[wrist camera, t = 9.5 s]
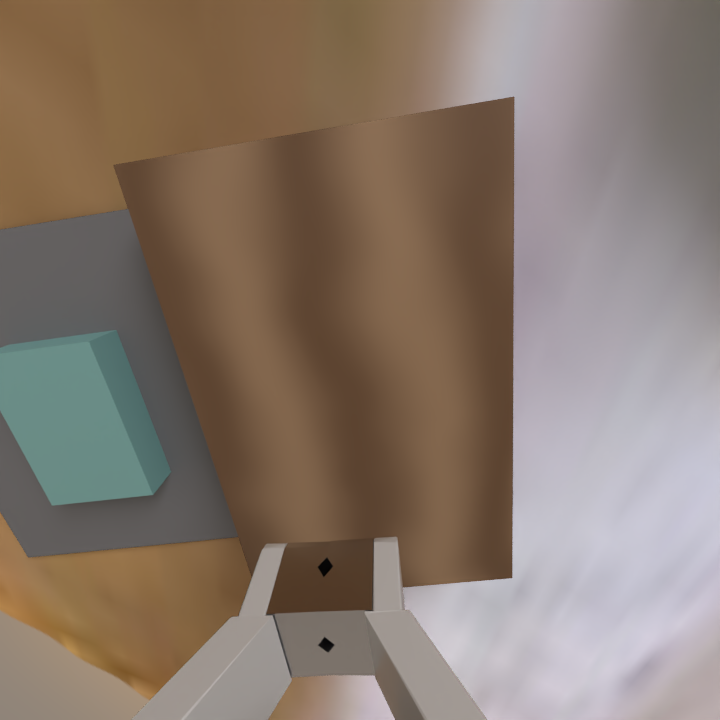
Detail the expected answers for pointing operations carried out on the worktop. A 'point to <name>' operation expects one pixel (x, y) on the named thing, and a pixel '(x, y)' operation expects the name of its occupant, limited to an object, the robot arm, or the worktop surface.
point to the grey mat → (150, 368)
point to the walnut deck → (349, 330)
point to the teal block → (81, 418)
